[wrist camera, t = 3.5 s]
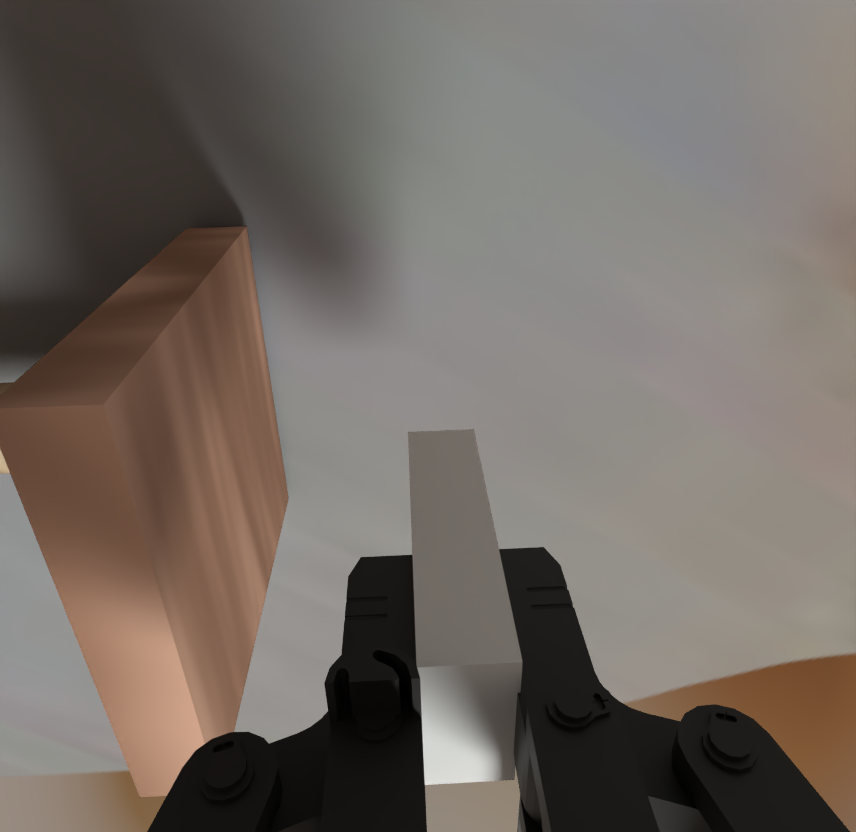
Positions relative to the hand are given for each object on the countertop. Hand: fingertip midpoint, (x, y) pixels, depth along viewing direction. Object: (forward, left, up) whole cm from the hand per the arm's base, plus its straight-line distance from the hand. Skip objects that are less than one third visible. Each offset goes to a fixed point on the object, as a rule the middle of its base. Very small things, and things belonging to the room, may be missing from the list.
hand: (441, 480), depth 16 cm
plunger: (0, -15, -6) cm, 16 cm away
